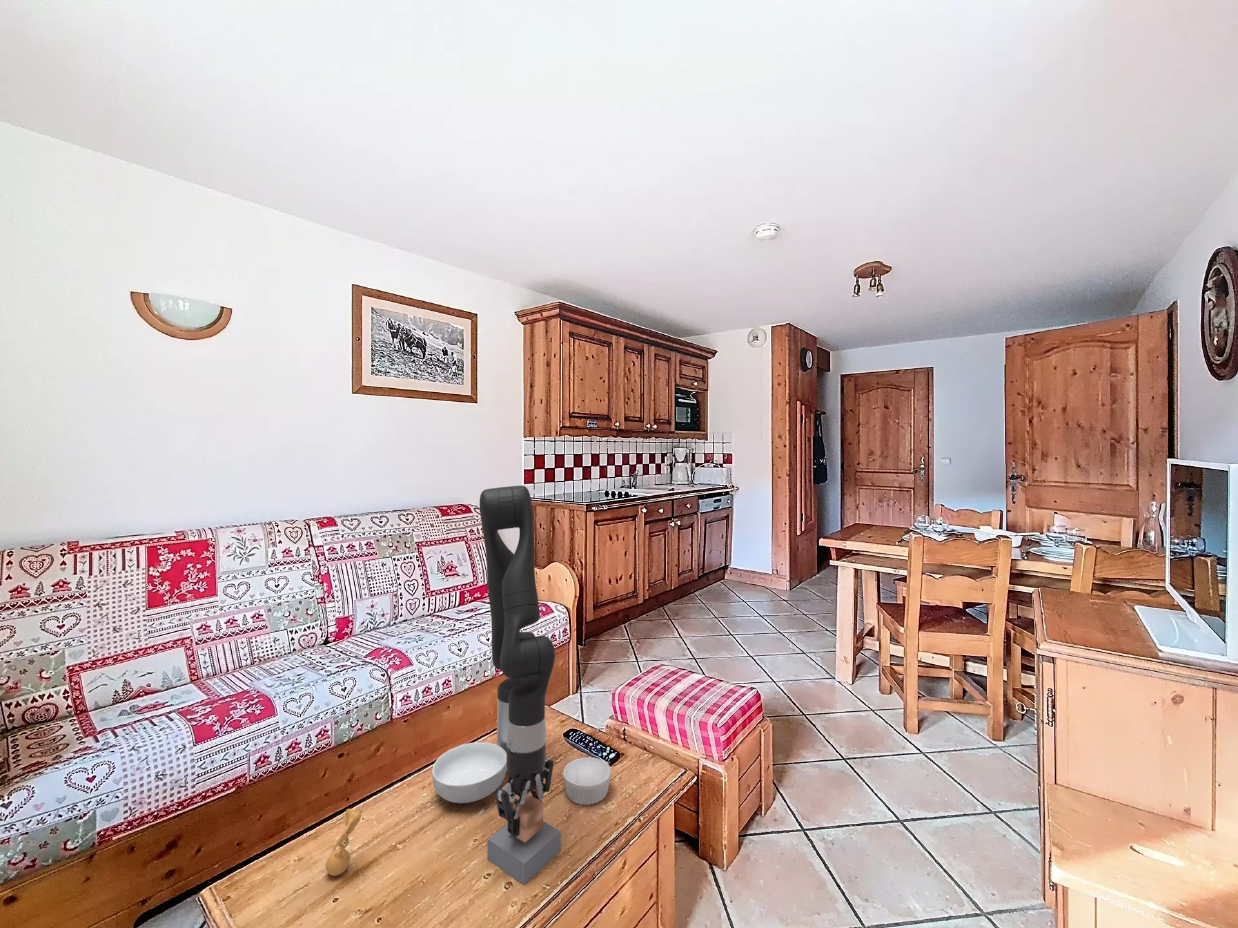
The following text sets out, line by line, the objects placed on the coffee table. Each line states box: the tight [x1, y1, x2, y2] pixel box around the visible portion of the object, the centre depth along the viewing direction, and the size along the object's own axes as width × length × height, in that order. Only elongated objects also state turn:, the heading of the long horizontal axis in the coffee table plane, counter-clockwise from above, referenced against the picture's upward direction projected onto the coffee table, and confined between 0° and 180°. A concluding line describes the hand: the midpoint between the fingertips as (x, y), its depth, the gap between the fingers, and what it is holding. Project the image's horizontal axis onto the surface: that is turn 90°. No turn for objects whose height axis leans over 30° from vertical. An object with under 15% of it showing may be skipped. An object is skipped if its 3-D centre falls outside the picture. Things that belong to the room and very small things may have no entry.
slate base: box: [486, 820, 562, 886], centre depth 100 cm, size 10×10×4 cm
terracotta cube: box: [506, 793, 545, 843], centre depth 100 cm, size 5×5×5 cm
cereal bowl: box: [431, 741, 507, 804], centre depth 119 cm, size 17×17×7 cm
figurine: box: [325, 808, 363, 877], centre depth 95 cm, size 8×6×12 cm
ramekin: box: [562, 756, 612, 806], centre depth 119 cm, size 11×11×5 cm
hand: (524, 825), depth 100 cm, fingers open, 5 cm apart
